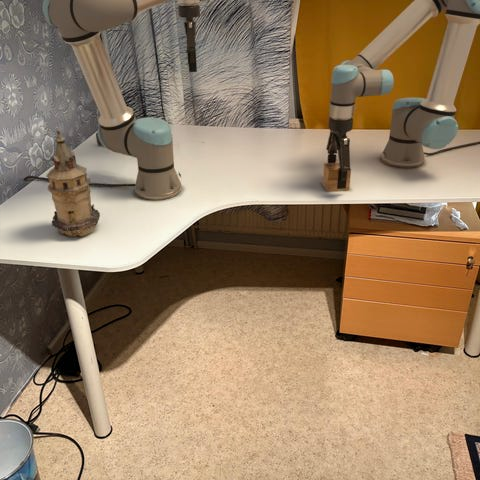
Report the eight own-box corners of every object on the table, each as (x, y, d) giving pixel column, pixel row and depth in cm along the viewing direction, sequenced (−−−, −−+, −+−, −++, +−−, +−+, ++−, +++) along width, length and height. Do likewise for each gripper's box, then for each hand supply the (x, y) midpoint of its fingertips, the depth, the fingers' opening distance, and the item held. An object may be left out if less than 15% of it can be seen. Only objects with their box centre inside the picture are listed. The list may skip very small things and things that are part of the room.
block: (349, 190, 177) (351, 169, 173) (327, 191, 176) (328, 170, 173) (343, 182, 183) (345, 162, 179) (322, 183, 182) (323, 163, 178)
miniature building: (80, 214, 164) (63, 117, 149) (111, 225, 157) (96, 125, 142) (44, 231, 154) (22, 130, 140) (75, 244, 147) (55, 139, 133)
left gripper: (201, 8, 174) (204, 75, 184) (198, 0, 195) (201, 60, 206) (178, 8, 173) (182, 75, 184) (177, 1, 195) (181, 61, 205)
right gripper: (365, 128, 157) (358, 195, 168) (342, 106, 179) (337, 166, 189) (340, 129, 157) (334, 196, 167) (320, 106, 178) (316, 167, 189)
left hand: (192, 67), depth 195 cm, fingers open, 13 cm apart
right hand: (335, 180), depth 178 cm, fingers open, 12 cm apart
